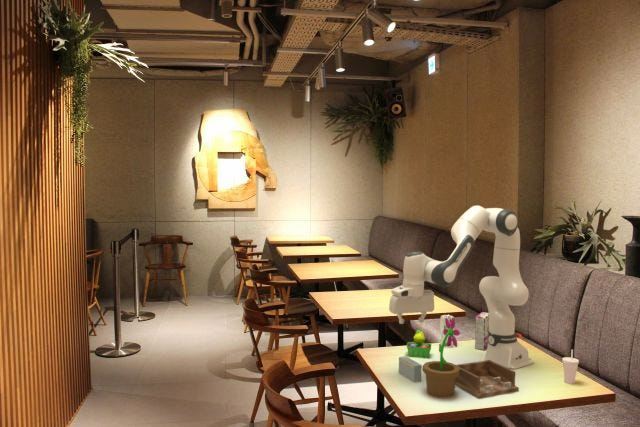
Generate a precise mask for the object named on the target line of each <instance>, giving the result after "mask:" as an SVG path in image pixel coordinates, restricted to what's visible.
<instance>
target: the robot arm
mask: <svg viewBox="0 0 640 427" xmlns="http://www.w3.org/2000/svg"><path fill="white" fill-rule="evenodd" d="M518 226H519V218H518V215H517V214H516V213H515V212H514V211H513V210H511V209H507V208H506V209H504V208H499V207H490V208H489V207H483V206H481V205H472V206H471V207H470V208H469V209H467V210H465V212H464V213H463V214H462V215H461V216H460V217H459V218H458V219H457V220H456V221H455V223H454V224H453V225H452V228H451V229H450V235H451V237H452V240H453V241H454V242H455V244H456V247H455V248H454V250H453V251H452V253H451V254H450V256H449V257H448V258H447V260H444V261H440V260H436V259H434V258H431V257H429V256H427V255H426V254H425V253H424V252H422V251H410V252H408V253H407V254H406V255H405V257H404V260H403V270H402V271H403V272H402V274H403V279H402V284H401V285H398V286H396V287H394V288H391V294H392V295H391V296H390V299H389V306H388V307H389V309H388V310H389V312H390V313H392V314H395V315H397V318H398V323H399V324H401V325H404V324H405V319H404V318H403V317H402V316H403V314H416V313H420V314H421V315H420V317H418V322H419V323H424V322H425V321H424V320H425V318H426V317H427V313H430V312H434V310H435V298H434V297H435V293H434V291H433V290H432V289H425V288H424V287H425V282H429V283H431V284H435V285H437V286H439V287H440V288H448V287H450V286H452V285H453V284H454V283H455V281H456V279H457V276H458V274H459V272H460V270H461V268H462V267H463V265H464V264H465V262H466V261H467V259H468V257H469V255H470V254H471V253H472V250H473V249H474V247H475V244H476V243H475V241H476V239H477V238H478V237H479V236H480V234H481V233H482V232H488V233H493V234H494V236H495V240H494V248H493V259H492V265H493V267H494V268H495V269H496V271H497V273H498V276H497V275H492V276H491V275H489V276H485V277H483V278H481V280H480V282H479V285H478V286H479V287H478V289H479V290H478V291H479V293H480V294H481V295H482V297H483V299H484V300H485V304H486V307H487V310H488V313H489V331H488V346H487V348H486V354H485V356H484V359H483V361H486V360H491V361H493V362H495V363H497V364H500V365H502V366H504V367H506V368H508V369H511V370H512V369H513V370H517V369H519V368H523V367H526V366H530V365H533V364H535V361H534V360H533V358H530V357H529V351H528V349H527V347H525V346H524V345H523V344H522V343H520V342H519V341H518V339H519V340H520V339H522V337H523V335H522V333H519V332H518V333H516V332H515V330H516V329H515V326H516V325H515V324H516V318H515V315H514V313H513V312H512V310H511V309H510V306H515V307H517V306H519V307H520V306H524V305H525V304H526V303H527V301H528V300H529V295H530V293H529V289H528V287H527V286H526V285H525V283H524V281H523V279H522V275H521V273H520V253H521V252H520V251H521V235H520V229H519V228H518Z"/></svg>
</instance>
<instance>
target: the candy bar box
mask: <svg viewBox="0 0 640 427" xmlns="http://www.w3.org/2000/svg"><path fill="white" fill-rule="evenodd" d="M474 325H475V326H474V328H475V334H474V335H475V338H474V339H475V341H474V343H475V344H474V349H475V350H479V351H485V350H487V346H488V331H489V312H484V311H481V312H480V313H479V314H477V315H476V316H475V324H474Z"/></svg>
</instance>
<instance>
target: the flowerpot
mask: <svg viewBox="0 0 640 427" xmlns="http://www.w3.org/2000/svg"><path fill="white" fill-rule="evenodd" d="M445 324H446V326H447V328H448V329H449V330H448V329H444V330H443V334H444V335H446V336H445V338H444V340H443V342H442V345H441V344H439V345H438V352H439V353H440V354H439V355H440V358H439V360H438V361H437V360H432V361H427V362H425V363H424V364H423V365H422V372H423V374H424V375H425V382H426V391H427V393H428V395H430V396H432V397H436V398H449V397H450V398H452V397H453V396H454V394H455V388H456V386H455V384H456V378H457V377H458V376H459V374H460V368H459V367H458V366H457V365H458V364H455V363H452V362H449V361H448V362H447V360H446V359H445V358H444V348H445V347H444V344H445V341H446V339H447V337H448V336H449V335H450V336H449V337H448V340H447V344H448V346H449V347H450V345H451V343H452V345H453V347H455V348H457V347H458V341H457V337H456V336H459V335H460V330H458V329H455V327H456V320H455V317H454V318H452V320H451V323H450V322H449V320H448V319H447V318H446V319H445ZM450 326H451V328H450ZM453 328H454V330H453ZM451 337H452V338H451ZM450 348H451V347H450Z"/></svg>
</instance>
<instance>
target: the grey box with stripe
mask: <svg viewBox="0 0 640 427" xmlns="http://www.w3.org/2000/svg"><path fill="white" fill-rule="evenodd" d="M422 369H423V365H422V364H421V363H419V362H417V361H415V360H413V359H412V358H410V357H409V356H407V355H405V356H399V357H398V374H400V375H402V376H403V377H405V378H406V379H408V380H410V381H411V382H413V383H418V382H422Z"/></svg>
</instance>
